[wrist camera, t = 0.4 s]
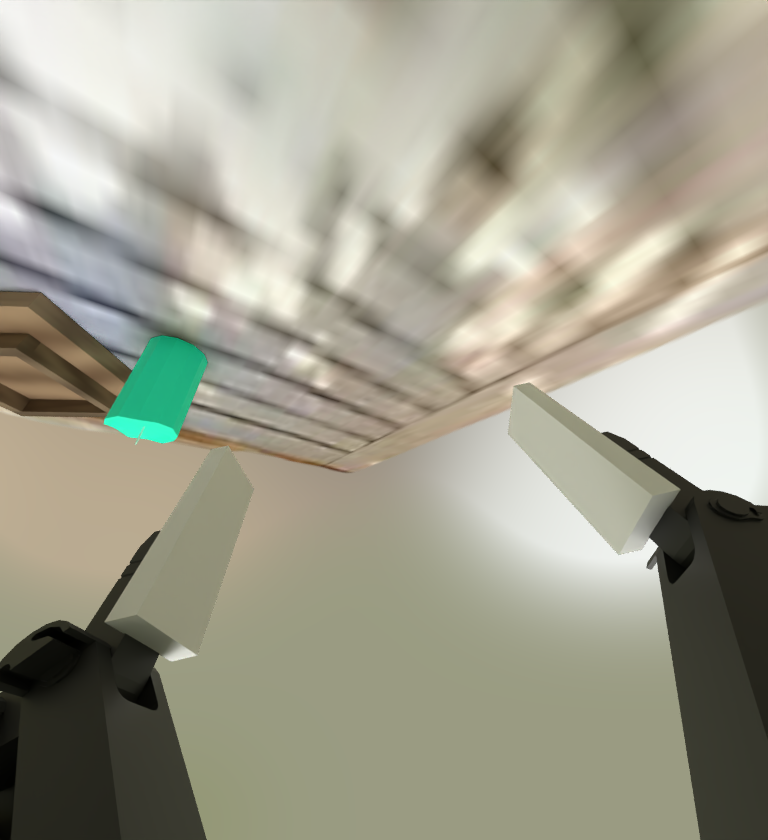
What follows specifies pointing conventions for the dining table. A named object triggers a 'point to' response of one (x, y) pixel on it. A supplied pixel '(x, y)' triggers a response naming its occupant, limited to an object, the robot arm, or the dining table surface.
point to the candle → (158, 391)
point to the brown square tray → (53, 362)
